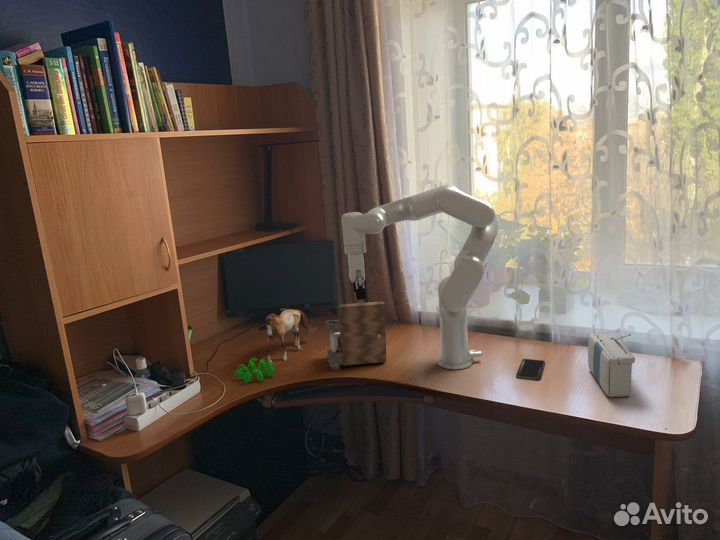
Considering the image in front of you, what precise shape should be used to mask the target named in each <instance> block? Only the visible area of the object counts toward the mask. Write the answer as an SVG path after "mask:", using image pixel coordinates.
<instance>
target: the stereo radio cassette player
mask: <svg viewBox="0 0 720 540" xmlns="http://www.w3.org/2000/svg"><path fill="white" fill-rule="evenodd" d="M631 335H632V334H631V333H629V334H626V335H624V336H620V337H617V336H616V334H614V333H599V334H596V333H595V334H593V333H592V334H589V337H588V343H587V344H588V345H587V346H588V348H587V362H588V363H587V365H588V369H589V371H590V372H591V373H592V376H594V378H595V380H596V381H597V383H598V384H599V386H600V387H601V389H602V390H603V392H604V393H605V394H606V396H607V397H609V398H622V397H623V398H624V397H626V396H628V397H630V396H631V394H632V393H631V392H632V374H633V373H632V372H633V371H632V370H633V369H632V367H633V364H634V363H635V362H636V357H635V356H634V355H633V354H632V353H631V351H630V350H629V349H628V348H627V347H626V346H625V345H624V344H623V342H622V341H621V339H624V338H626V337H631Z"/></svg>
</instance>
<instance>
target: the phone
mask: <svg viewBox="0 0 720 540" xmlns="http://www.w3.org/2000/svg"><path fill="white" fill-rule="evenodd" d="M545 366H546V361H545V360H542V359H541V360H540V359H533V358H532V359H531V358H522V360H521V362H520V365H519V367H518V369H517V372H516V375H515V377H516V378H517V379H520V380H530V381H540V380H542V379H541V378H542V376H543V373H544V369H545Z"/></svg>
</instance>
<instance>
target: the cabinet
mask: <svg viewBox="0 0 720 540" xmlns="http://www.w3.org/2000/svg"><path fill="white" fill-rule="evenodd" d="M330 324H334V323H330ZM329 341H330V342H329V343H330V349H331V353H336V349H338V348H341V336H340V332H338V333H329ZM341 365H342V361H340V362H329V369H330V371H339V370H340V369H341ZM338 369H339V370H338Z"/></svg>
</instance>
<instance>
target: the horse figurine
mask: <svg viewBox="0 0 720 540" xmlns="http://www.w3.org/2000/svg"><path fill="white" fill-rule="evenodd" d="M264 321H265V324H264V325H265V328H266V329H267V330H266V335H267V337H268V338H267V362H273V361H272V360H271V348H272V345H273V343H274V340H275V339H277V338H278V339H279V340H280V342H281V347H282V350H283V357H282V361H284V362H285V361H287V360H288V358H287V351H286V344H285V339H284V336H285V334H286V333H287V332H289V331H292V333H293V335H294V339H295V341H294V347H296V350H297V352H298V351H301V348H302V347H301V346H300V334H301V332H300V329H299V324H301V326H302V327H303V328H305V330H306V331H307V332H308V333H309V334H312V335H314V333H315V332H316V330H317V327H314V326H312V325H311V324H310V323H309V319H308V316H307V315H306V313H304V312H303V311H302V310H299V309H293V308H288V309H284V310H283V311H281V313H280V314H279V315H278V314H275V313H274V312H273V313H269V315H267V317H266V318H264ZM271 364H272V365H273V363H271Z"/></svg>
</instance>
